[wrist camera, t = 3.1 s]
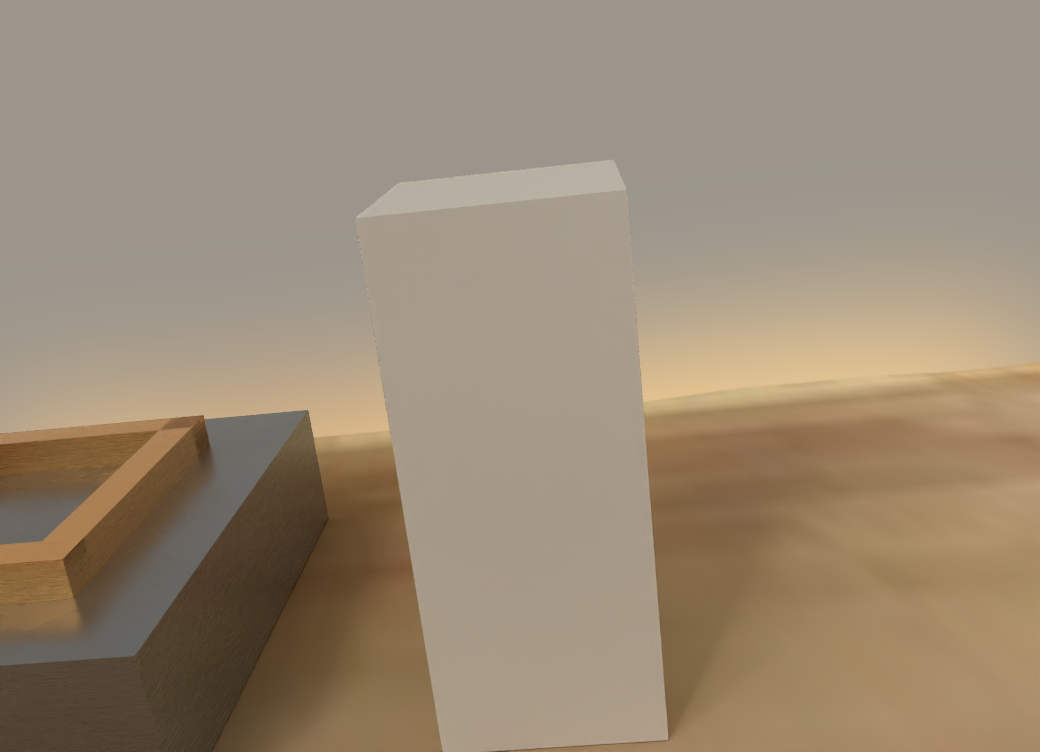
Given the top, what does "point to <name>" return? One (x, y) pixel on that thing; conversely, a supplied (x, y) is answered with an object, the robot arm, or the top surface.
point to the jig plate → (146, 575)
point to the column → (521, 452)
